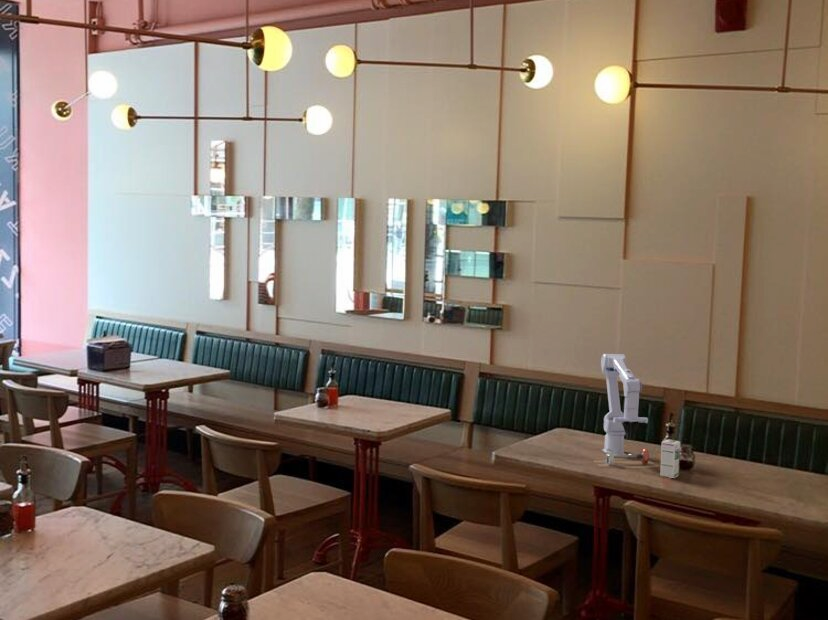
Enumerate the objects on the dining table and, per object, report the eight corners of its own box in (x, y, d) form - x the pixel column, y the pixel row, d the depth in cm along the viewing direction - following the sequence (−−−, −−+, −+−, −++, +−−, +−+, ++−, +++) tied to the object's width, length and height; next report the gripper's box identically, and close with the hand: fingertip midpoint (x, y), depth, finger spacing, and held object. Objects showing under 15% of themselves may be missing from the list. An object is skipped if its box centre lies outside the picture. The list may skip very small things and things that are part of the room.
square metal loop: (603, 462, 398) (604, 448, 398) (610, 462, 399) (611, 448, 398) (608, 465, 392) (609, 452, 392) (615, 465, 393) (616, 452, 392)
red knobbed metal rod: (608, 465, 392) (609, 451, 392) (603, 461, 398) (604, 447, 398) (649, 465, 395) (650, 451, 394) (644, 461, 401) (644, 447, 400)
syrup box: (673, 479, 377) (675, 443, 376) (659, 476, 381) (661, 441, 379) (678, 476, 382) (681, 441, 380) (664, 473, 385) (667, 438, 384)
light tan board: (592, 461, 401) (592, 460, 401) (648, 461, 404) (648, 460, 404) (601, 469, 389) (601, 467, 389) (659, 468, 392) (659, 467, 392)
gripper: (618, 409, 392) (616, 441, 393) (651, 409, 394) (649, 441, 395) (612, 406, 399) (610, 437, 400) (645, 406, 401) (643, 437, 402)
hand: (629, 439), depth 398 cm, fingers closed
